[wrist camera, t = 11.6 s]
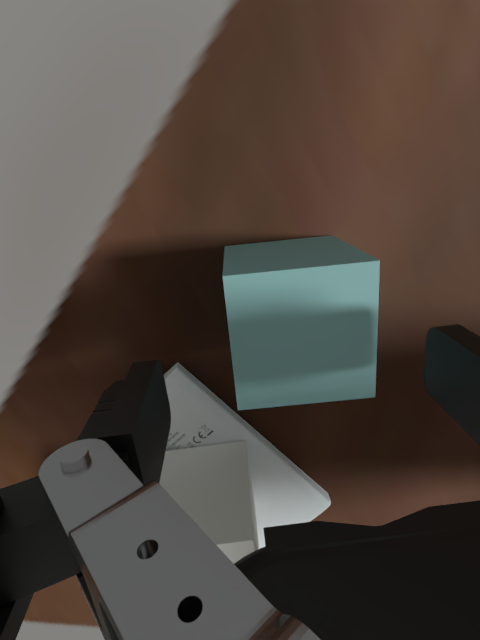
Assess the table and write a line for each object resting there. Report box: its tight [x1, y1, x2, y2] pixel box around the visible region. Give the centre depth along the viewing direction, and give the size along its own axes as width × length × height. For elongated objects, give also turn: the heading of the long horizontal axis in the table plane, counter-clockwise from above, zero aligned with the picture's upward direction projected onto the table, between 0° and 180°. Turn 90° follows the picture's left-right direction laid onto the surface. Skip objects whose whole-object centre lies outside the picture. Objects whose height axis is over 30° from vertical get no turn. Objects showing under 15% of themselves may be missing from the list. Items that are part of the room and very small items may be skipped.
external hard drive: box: [164, 362, 331, 549], centre depth 22 cm, size 2×8×12 cm
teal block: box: [223, 235, 380, 410], centre depth 16 cm, size 5×5×6 cm
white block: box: [159, 441, 259, 564], centre depth 18 cm, size 5×5×6 cm
